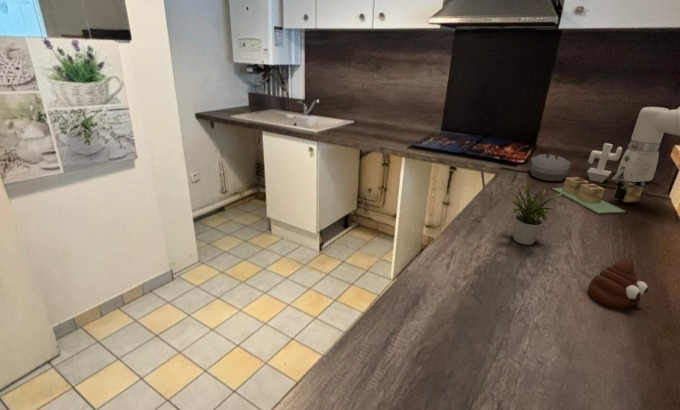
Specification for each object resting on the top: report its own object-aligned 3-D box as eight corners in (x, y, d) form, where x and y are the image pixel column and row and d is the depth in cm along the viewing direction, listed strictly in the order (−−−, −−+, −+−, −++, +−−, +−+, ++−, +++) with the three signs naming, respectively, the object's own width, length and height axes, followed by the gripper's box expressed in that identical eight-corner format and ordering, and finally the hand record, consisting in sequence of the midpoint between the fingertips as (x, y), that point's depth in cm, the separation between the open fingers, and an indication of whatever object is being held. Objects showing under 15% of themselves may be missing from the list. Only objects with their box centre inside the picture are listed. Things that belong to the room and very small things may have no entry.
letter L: (574, 189, 133) (578, 176, 131) (584, 194, 129) (589, 181, 127) (562, 190, 133) (566, 176, 131) (572, 195, 128) (576, 181, 126)
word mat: (575, 188, 136) (576, 187, 136) (625, 212, 116) (625, 211, 116) (551, 189, 135) (552, 188, 134) (597, 213, 115) (598, 212, 115)
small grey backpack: (529, 166, 161) (524, 178, 145) (534, 148, 157) (529, 158, 142) (568, 172, 154) (567, 186, 138) (573, 153, 150) (573, 165, 135)
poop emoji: (604, 280, 81) (617, 244, 77) (648, 302, 74) (665, 264, 70) (578, 292, 76) (591, 255, 73) (622, 317, 70) (639, 277, 66)
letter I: (589, 196, 127) (593, 183, 125) (600, 202, 122) (605, 188, 120) (576, 197, 126) (580, 183, 124) (587, 203, 122) (592, 188, 120)
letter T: (625, 196, 126) (630, 182, 124) (638, 201, 121) (643, 187, 119) (613, 196, 125) (617, 182, 123) (625, 202, 121) (630, 187, 119)
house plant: (480, 236, 99) (492, 180, 92) (505, 222, 107) (517, 170, 101) (533, 258, 89) (550, 197, 82) (556, 241, 97) (572, 185, 91)
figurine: (585, 175, 151) (596, 140, 145) (612, 180, 145) (624, 144, 139) (581, 179, 146) (592, 143, 140) (609, 185, 140) (621, 147, 134)
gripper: (630, 150, 112) (612, 203, 119) (677, 148, 114) (657, 201, 121) (610, 144, 118) (595, 195, 125) (655, 143, 121) (638, 193, 128)
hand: (626, 198), depth 123 cm, fingers closed on letter T, 5 cm apart
